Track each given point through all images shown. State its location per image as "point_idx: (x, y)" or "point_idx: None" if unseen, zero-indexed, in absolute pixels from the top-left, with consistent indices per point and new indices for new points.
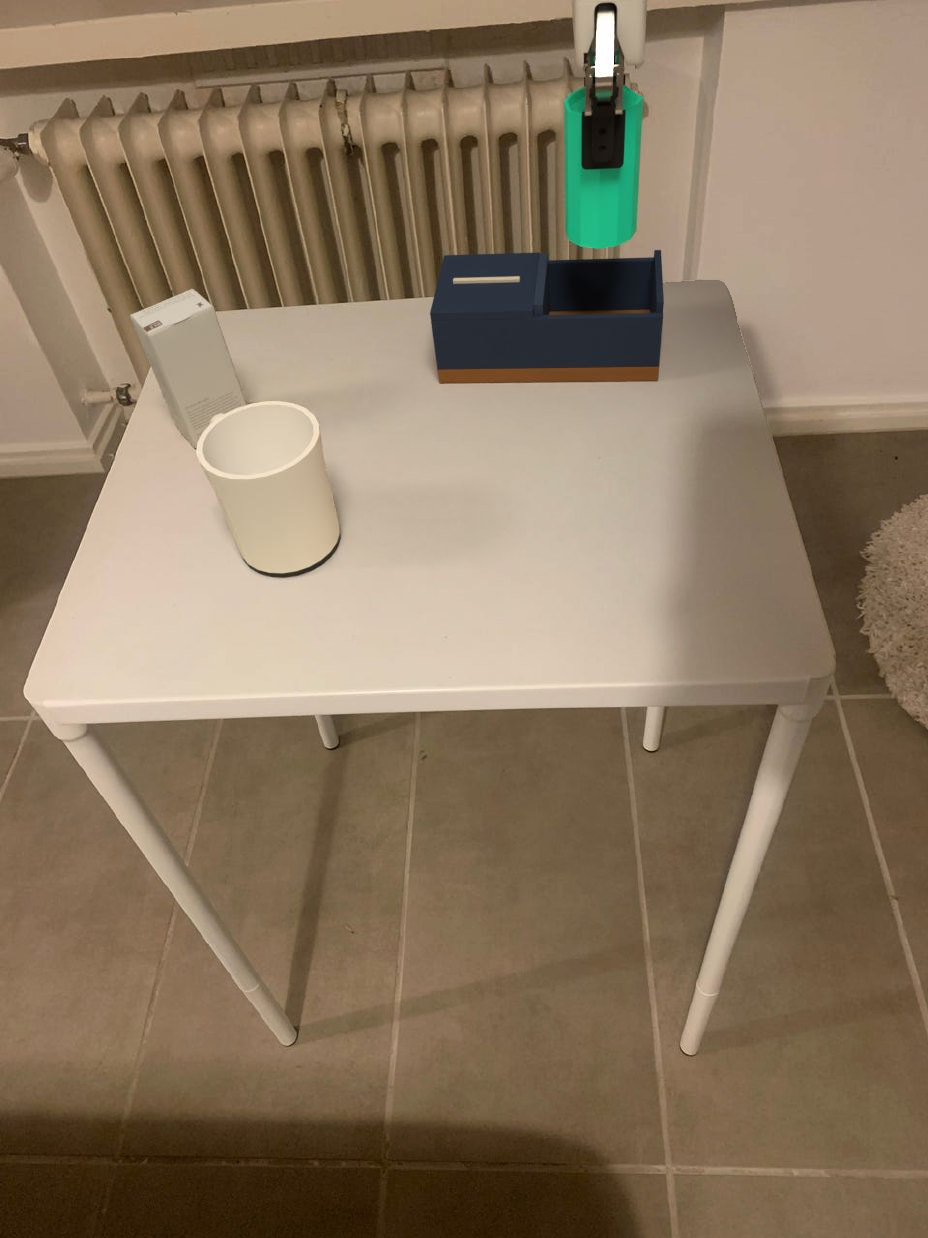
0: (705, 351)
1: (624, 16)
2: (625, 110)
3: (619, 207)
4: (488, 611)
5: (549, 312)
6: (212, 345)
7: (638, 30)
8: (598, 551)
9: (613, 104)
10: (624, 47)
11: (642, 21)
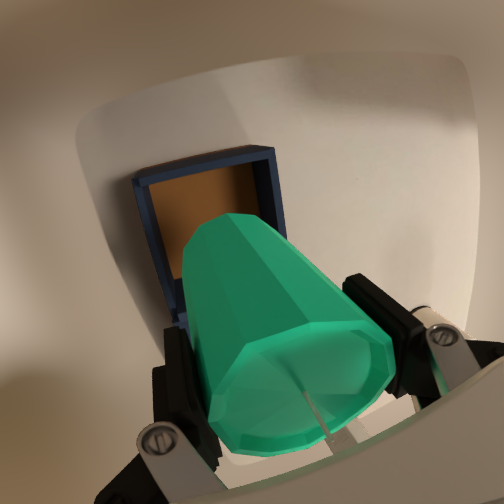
0: (190, 105)
1: None
2: (415, 327)
3: (295, 248)
4: (455, 217)
5: (175, 278)
6: (360, 440)
7: None
8: (427, 166)
9: (483, 343)
10: None
11: None
